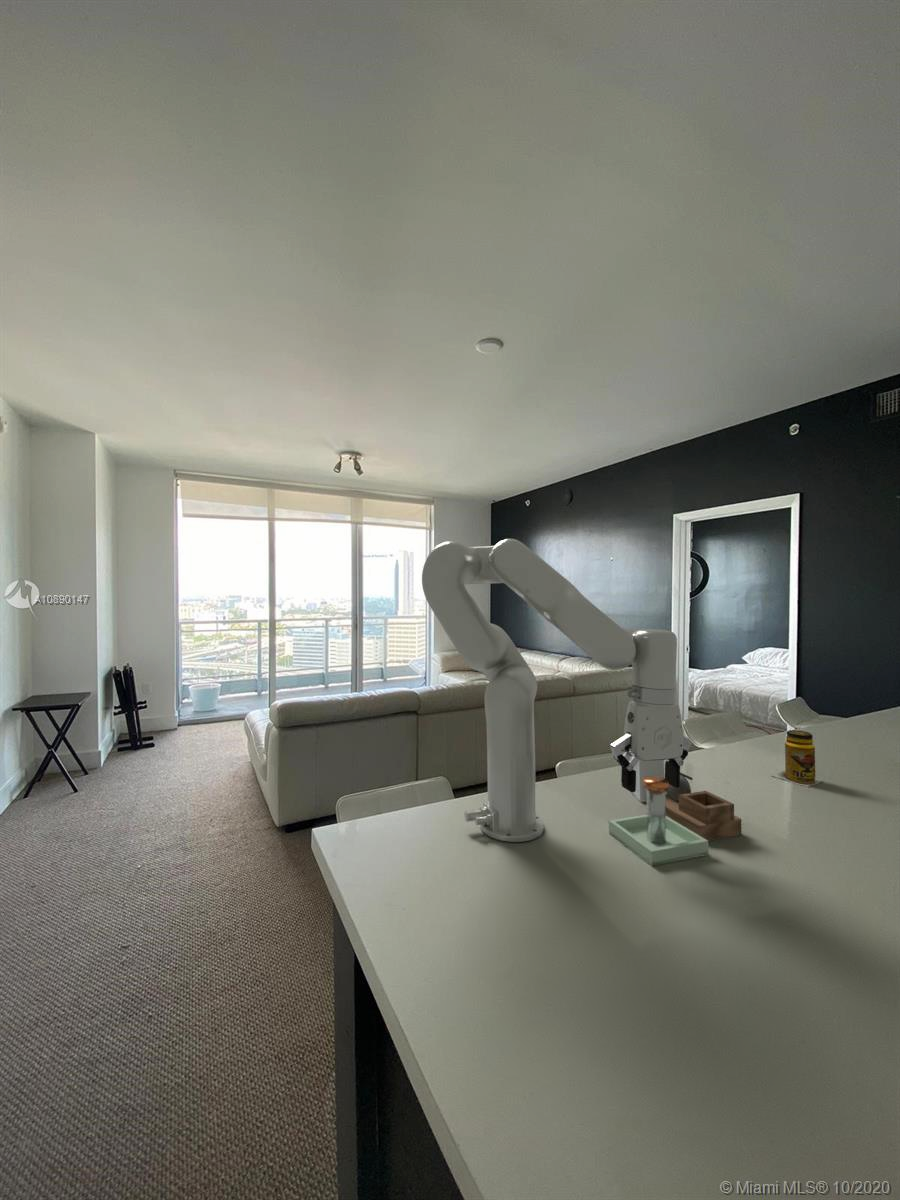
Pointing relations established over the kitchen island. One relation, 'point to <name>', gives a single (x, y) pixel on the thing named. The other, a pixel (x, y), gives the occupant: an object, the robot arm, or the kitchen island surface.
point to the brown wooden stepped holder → (701, 811)
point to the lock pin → (656, 808)
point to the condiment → (799, 759)
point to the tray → (635, 838)
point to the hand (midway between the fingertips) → (650, 787)
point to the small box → (646, 770)
